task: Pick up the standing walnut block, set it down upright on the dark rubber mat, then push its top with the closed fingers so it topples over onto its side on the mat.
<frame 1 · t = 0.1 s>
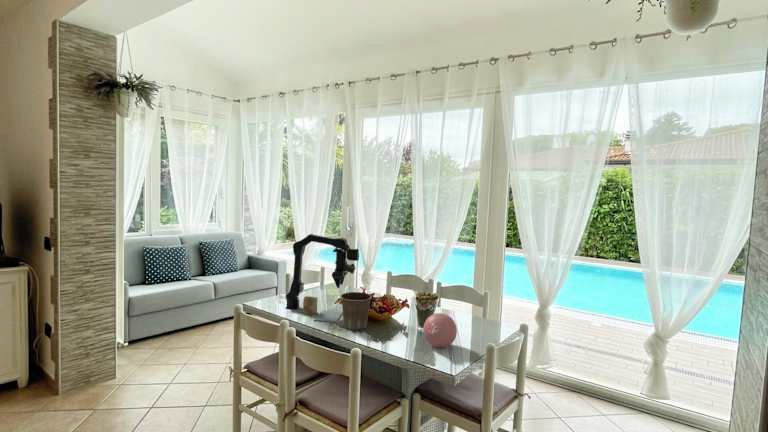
hand: (340, 286, 236), 15 cm above the table, tool pointing down, fingers open, 9 cm apart
pink ball: (437, 348, 186), on the table
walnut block: (310, 313, 231), on the table
mat: (329, 316, 226), on the table
plant pot: (355, 326, 211), on the table
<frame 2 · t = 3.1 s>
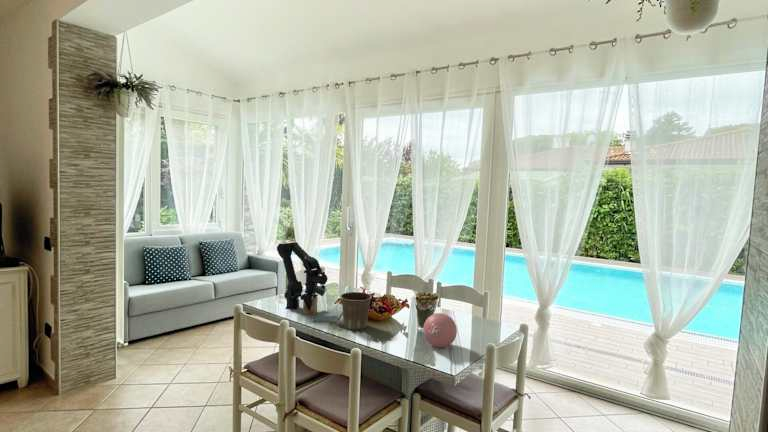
hand: (310, 308, 231), 3 cm above the table, tool pointing down, fingers closed on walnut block, 4 cm apart
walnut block: (310, 313, 231), on the table, touching gripper
everything else where it was.
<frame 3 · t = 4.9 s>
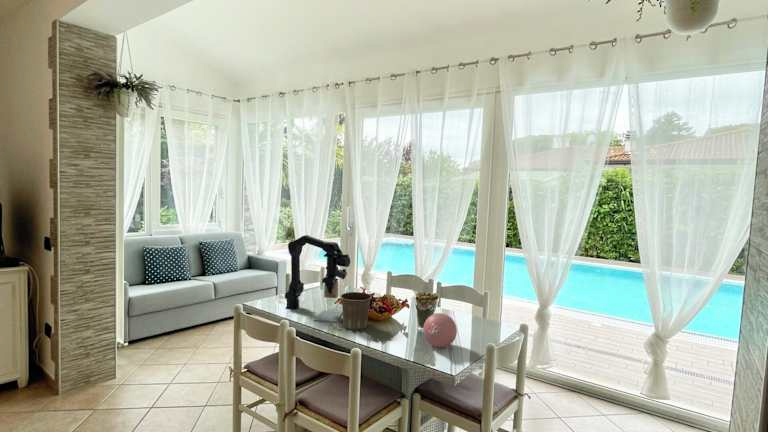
hand: (331, 292, 229), 13 cm above the table, tool pointing down, fingers closed on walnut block, 4 cm apart
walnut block: (331, 296, 229), point 10 cm above the table, touching gripper
everything else where it was.
when the fingers open (4 cm above the table, at t = 6.7 s): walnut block drops 1 cm, resting on mat.
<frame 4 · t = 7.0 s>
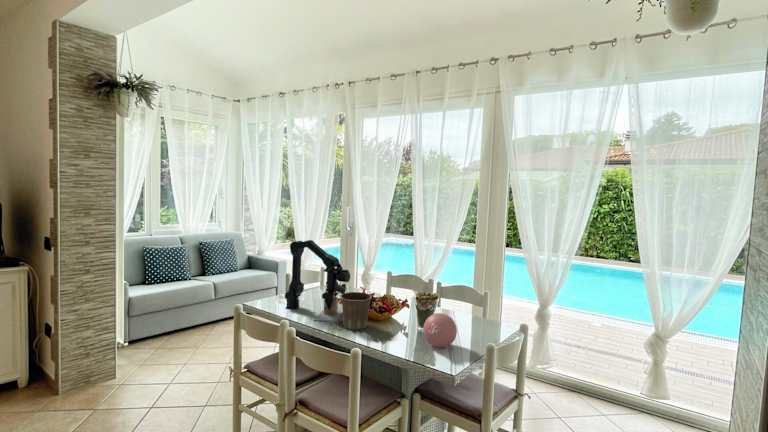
hand: (330, 307, 229), 4 cm above the table, tool pointing down, fingers open, 7 cm apart
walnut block: (330, 313, 230), point 1 cm above the table, touching mat
everything else where it was.
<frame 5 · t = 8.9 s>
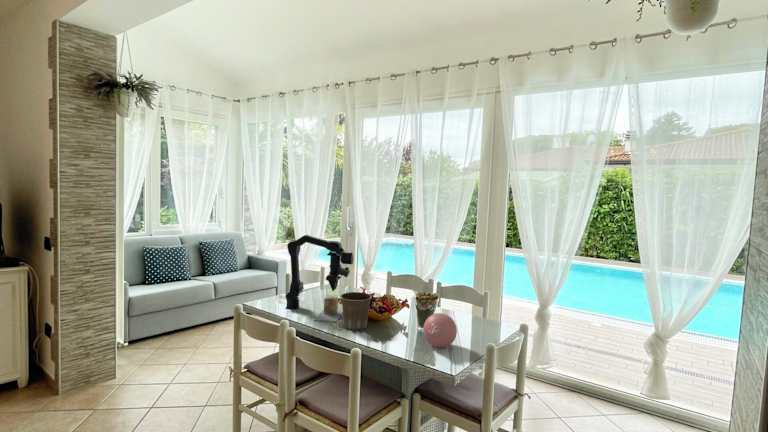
hand: (334, 289, 236), 12 cm above the table, tool pointing down, fingers open, 4 cm apart
nothing on the table moved.
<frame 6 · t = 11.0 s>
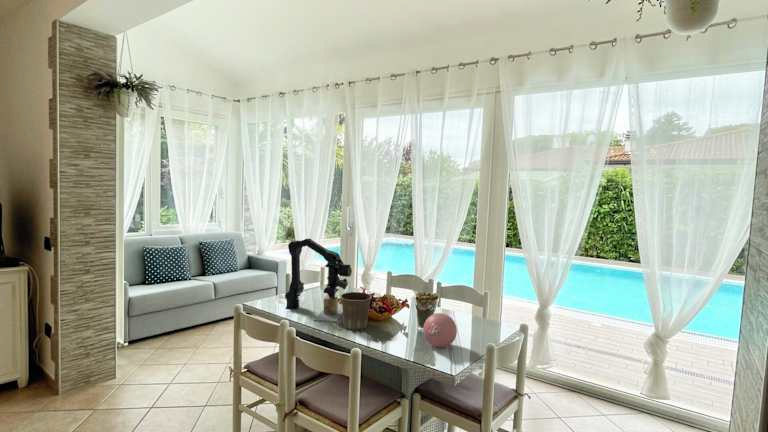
hand: (332, 302, 232), 6 cm above the table, tool pointing down, fingers closed
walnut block: (330, 313, 230), point 1 cm above the table, tilted 6°, touching gripper, mat
everything else where it was.
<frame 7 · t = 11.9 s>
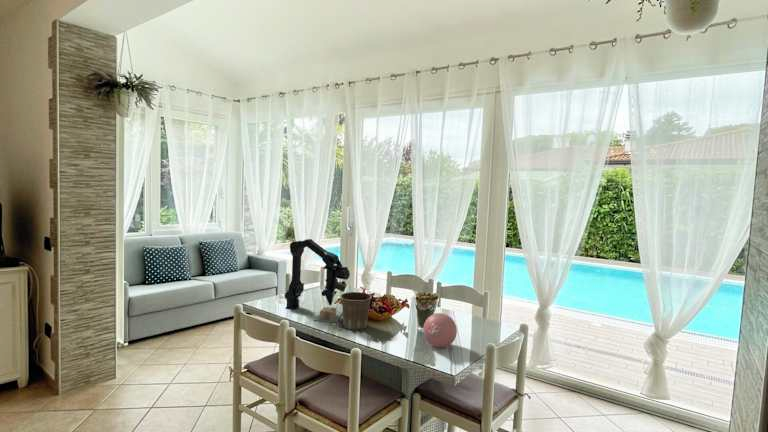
hand: (330, 304, 228), 6 cm above the table, tool pointing down, fingers closed
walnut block: (329, 311, 227), point 3 cm above the table, tilted 90°, touching mat
everything else where it was.
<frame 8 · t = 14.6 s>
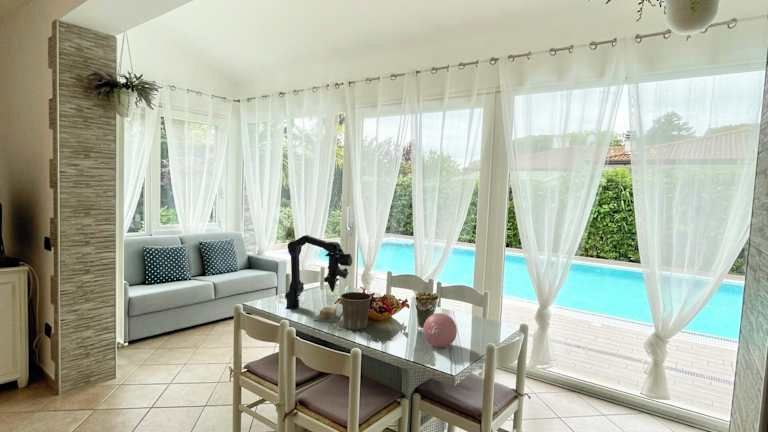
hand: (332, 291, 232), 12 cm above the table, tool pointing down, fingers closed
nothing on the table moved.
at the end: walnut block tilted 90°; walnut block inside the target area (3.0 cm from its centre), point 2.6 cm above the table; the gripper is holding nothing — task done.
